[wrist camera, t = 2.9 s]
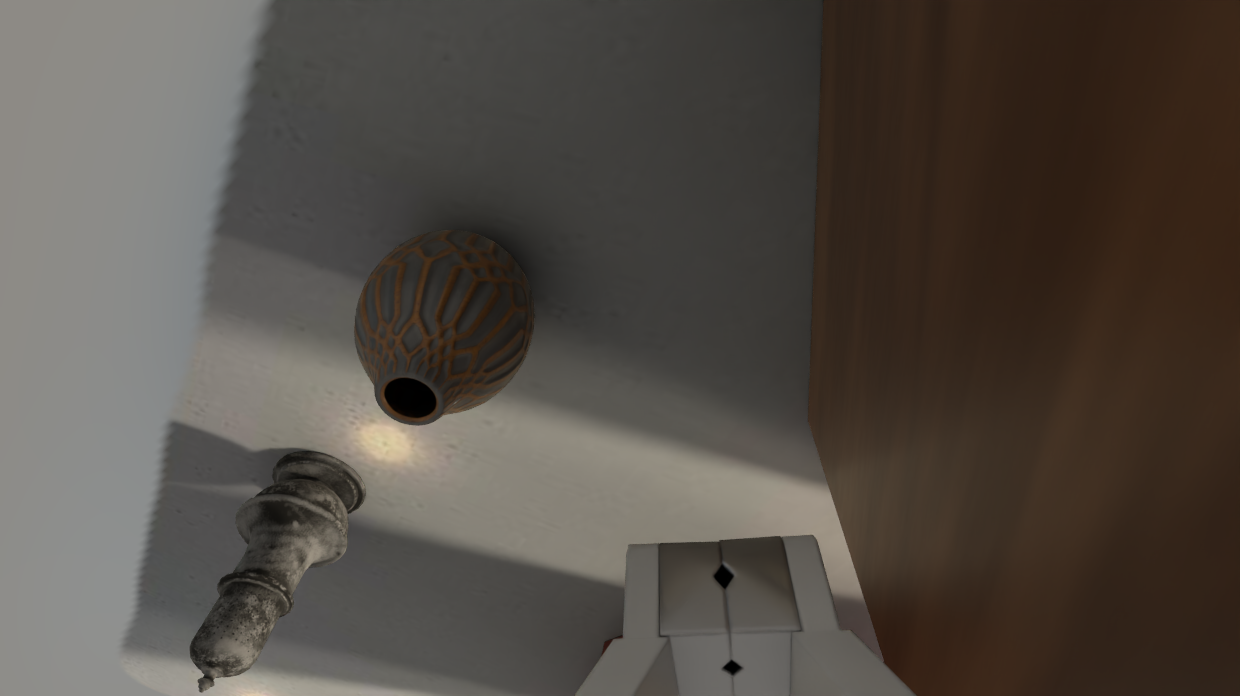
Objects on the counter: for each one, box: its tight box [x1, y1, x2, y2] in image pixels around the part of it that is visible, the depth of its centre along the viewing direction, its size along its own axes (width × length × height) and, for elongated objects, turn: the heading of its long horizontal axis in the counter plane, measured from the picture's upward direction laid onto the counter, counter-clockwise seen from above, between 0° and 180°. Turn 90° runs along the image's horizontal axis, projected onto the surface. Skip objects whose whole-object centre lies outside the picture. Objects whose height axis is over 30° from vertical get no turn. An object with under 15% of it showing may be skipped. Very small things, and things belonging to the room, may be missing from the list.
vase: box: [354, 230, 535, 425], centre depth 25 cm, size 7×7×9 cm
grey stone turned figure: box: [190, 451, 366, 693], centre depth 32 cm, size 6×6×12 cm
